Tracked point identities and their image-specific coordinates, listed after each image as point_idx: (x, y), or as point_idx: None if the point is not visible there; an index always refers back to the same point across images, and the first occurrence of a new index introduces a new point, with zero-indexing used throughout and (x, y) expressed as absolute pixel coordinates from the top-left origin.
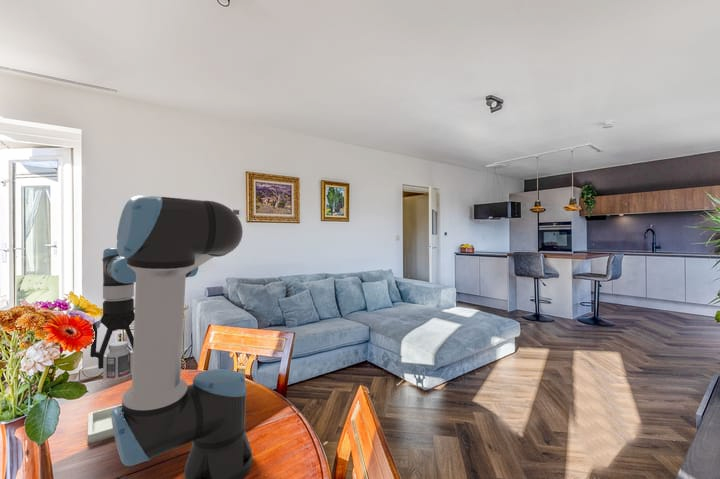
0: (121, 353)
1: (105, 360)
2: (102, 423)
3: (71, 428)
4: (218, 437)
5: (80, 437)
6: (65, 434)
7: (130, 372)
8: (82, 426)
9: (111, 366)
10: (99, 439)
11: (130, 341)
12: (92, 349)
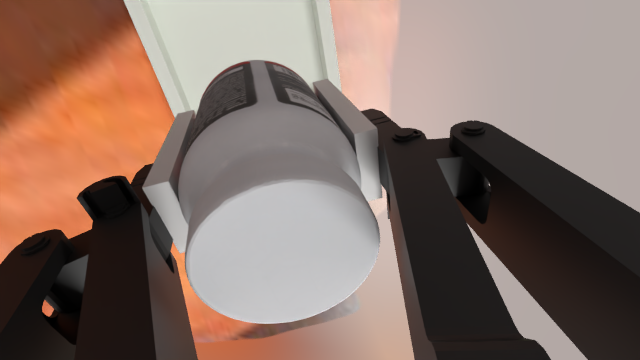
0: (230, 132)
1: (354, 121)
2: (295, 62)
3: (373, 84)
4: None
5: (341, 7)
6: (382, 52)
7: (192, 114)
8: (348, 83)
9: (299, 87)
10: None
11: (137, 275)
12: (519, 155)
